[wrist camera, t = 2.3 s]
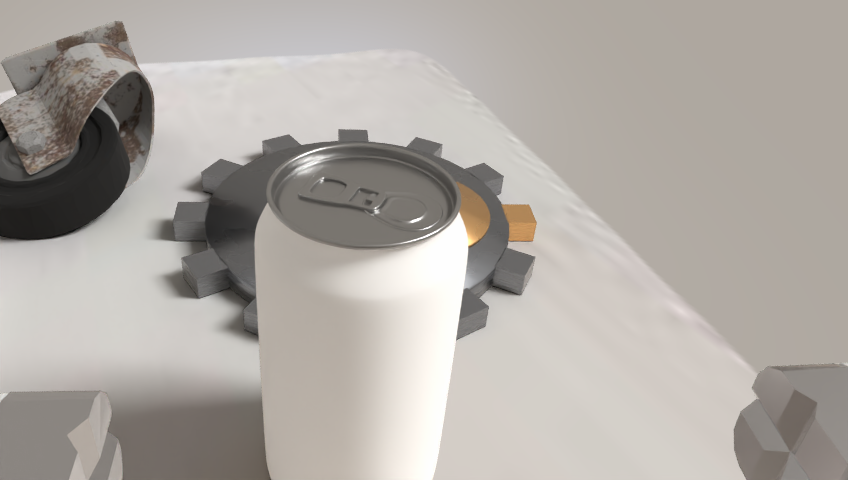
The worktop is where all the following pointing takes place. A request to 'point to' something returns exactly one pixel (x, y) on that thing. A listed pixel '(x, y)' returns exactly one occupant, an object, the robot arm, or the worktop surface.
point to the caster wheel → (72, 132)
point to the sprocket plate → (246, 185)
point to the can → (357, 312)
